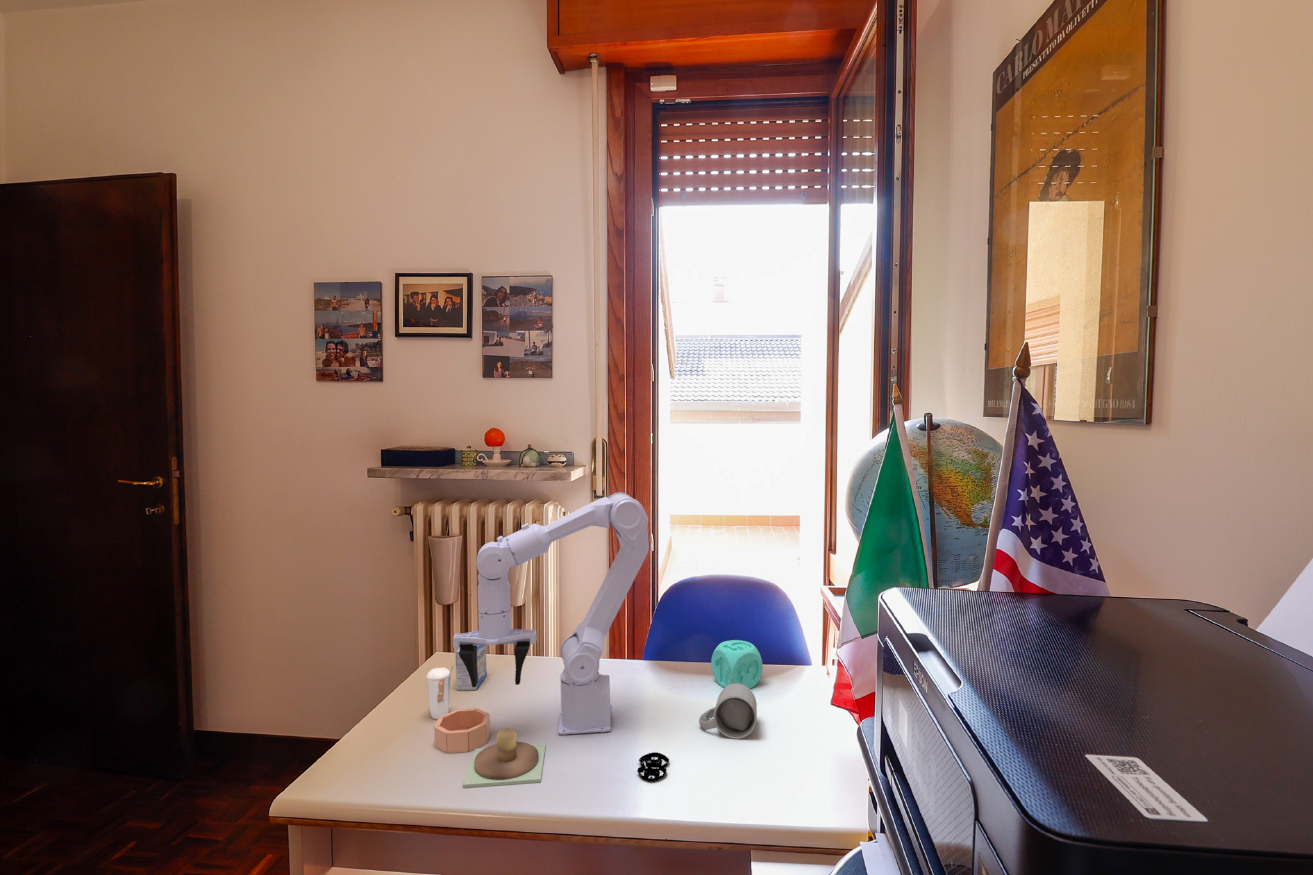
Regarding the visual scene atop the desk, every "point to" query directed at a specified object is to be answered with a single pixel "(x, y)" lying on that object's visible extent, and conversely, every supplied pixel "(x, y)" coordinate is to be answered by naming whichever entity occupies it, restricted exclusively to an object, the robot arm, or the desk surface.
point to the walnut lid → (506, 757)
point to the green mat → (531, 777)
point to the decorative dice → (736, 663)
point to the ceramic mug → (732, 712)
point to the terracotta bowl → (462, 730)
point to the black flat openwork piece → (653, 766)
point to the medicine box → (462, 673)
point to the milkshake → (439, 691)
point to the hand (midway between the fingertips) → (496, 683)
